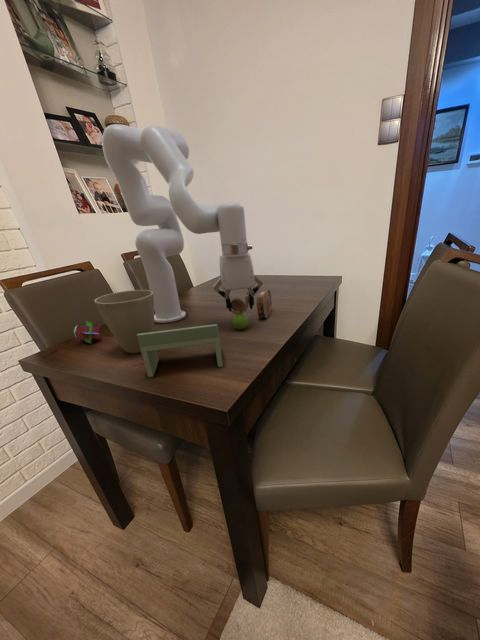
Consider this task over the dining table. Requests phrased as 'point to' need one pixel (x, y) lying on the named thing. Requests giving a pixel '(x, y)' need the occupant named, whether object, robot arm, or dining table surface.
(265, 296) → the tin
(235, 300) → the snail figurine
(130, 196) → the robot arm
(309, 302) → the dining table surface
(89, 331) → the geometric puzzle
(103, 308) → the plant pot
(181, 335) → the shelf
